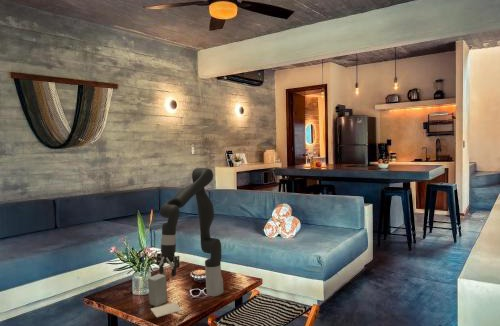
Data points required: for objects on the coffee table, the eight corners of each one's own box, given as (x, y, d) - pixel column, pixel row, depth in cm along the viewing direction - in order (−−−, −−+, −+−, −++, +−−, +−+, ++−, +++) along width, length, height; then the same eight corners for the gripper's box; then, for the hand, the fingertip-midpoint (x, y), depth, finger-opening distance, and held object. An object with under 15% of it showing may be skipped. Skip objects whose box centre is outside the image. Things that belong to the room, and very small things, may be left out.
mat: (175, 302, 216) (175, 302, 216) (182, 310, 206) (182, 309, 206) (150, 309, 209) (150, 308, 209) (156, 317, 199) (156, 316, 199)
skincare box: (160, 299, 222) (159, 272, 221) (168, 302, 218) (166, 275, 217) (148, 304, 216) (146, 277, 215) (156, 307, 211) (154, 279, 210)
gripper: (183, 243, 197) (182, 275, 196) (163, 241, 204) (162, 271, 203) (173, 245, 190) (172, 278, 189) (153, 242, 198) (152, 274, 197)
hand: (167, 275), depth 196 cm, fingers open, 8 cm apart
